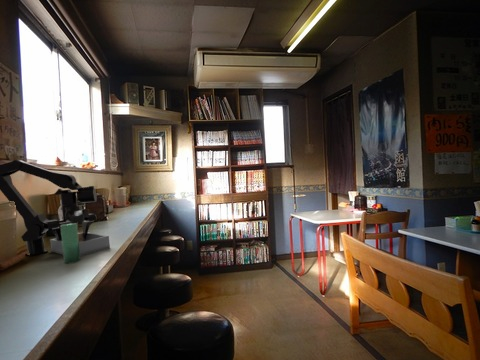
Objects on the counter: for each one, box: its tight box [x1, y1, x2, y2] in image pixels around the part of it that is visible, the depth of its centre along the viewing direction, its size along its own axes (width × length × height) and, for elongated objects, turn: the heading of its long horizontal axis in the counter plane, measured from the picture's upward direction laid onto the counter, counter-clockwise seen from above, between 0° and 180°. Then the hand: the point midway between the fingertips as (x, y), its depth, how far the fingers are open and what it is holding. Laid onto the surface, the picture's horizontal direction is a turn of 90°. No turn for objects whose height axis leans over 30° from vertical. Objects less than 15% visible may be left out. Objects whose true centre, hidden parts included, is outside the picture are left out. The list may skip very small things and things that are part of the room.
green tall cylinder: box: [59, 222, 81, 264], centre depth 102 cm, size 5×5×13 cm
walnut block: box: [78, 232, 83, 242], centre depth 122 cm, size 5×5×5 cm
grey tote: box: [49, 231, 111, 257], centre depth 119 cm, size 22×14×5 cm, turn 50°
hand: (73, 241), depth 122 cm, fingers open, 9 cm apart
